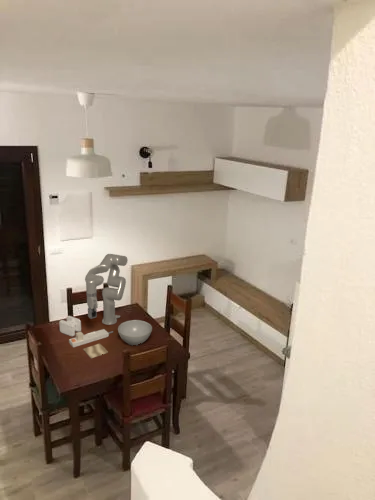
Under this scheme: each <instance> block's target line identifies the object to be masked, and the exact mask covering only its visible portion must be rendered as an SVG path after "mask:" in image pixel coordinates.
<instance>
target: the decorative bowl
mask: <svg viewBox="0 0 375 500" xmlns="http://www.w3.org/2000/svg"><path fill="white" fill-rule="evenodd" d="M117 331H118V334H119V336H120V338H121V339H122V341H123V342H125V343H127V344H128V345H130V346H133V345H136V346H139V345H138V344H140V343H141V344H143V343H144V342H146V341H147V340H148V338H149V337H150V336H151V334H152V331H153V326H152V324H151V323H149V322H147V321H144V320H140V319H133V320H132V319H131V320H126V321H124V322H121V323H120V324H119V325H118V327H117ZM141 344H140V345H141Z"/></svg>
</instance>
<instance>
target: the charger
mask: <svg viewBox="0 0 375 500" xmlns="http://www.w3.org/2000/svg"><path fill="white" fill-rule="evenodd" d="M93 310H94V309H93ZM97 311H98V310H97ZM97 311H96V316H95V317H92V309H91V308H88V307H87V317H88V318H89V319H91V320H92V319H95V318H97V316H98V315H97V314H98V313H97Z"/></svg>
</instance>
